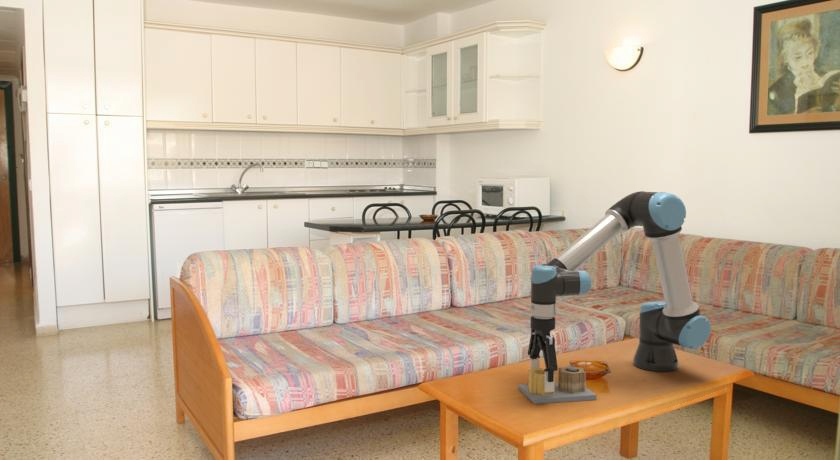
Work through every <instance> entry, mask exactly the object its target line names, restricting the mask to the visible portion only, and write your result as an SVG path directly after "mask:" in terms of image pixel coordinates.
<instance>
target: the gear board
mask: <svg viewBox="0 0 840 460" xmlns="http://www.w3.org/2000/svg"><path fill="white" fill-rule="evenodd" d="M566 367H567V370H568V371H577V367H578V366H577V367H576V366H572V367H568V366H566ZM518 390H519V391H520V392H521V393H522V394H523V395H524V396H525V397H526V398H527V399H528V400H529V401H530V402H531V403H532V404H533V405H538V404H555V403H565V402H566V403H567V402H568V403H569V402H581V401H582V402H584V401H596V400H597V394H596V393H595V392H593V391H592V390H590V389H589V388H588V387H586V389H585V391H581V392H576V393H572V392H568V391H561V390H560V387H558V381H555V393H554V394H553V393H550V394H545V395H541V394H536V393H530V392H529V389H528V383H522V384H521V383H519V384H518Z"/></svg>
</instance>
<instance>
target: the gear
mask: <svg viewBox="0 0 840 460" xmlns="http://www.w3.org/2000/svg"><path fill="white" fill-rule="evenodd" d="M567 367H573V366H572V365H568V366H563V367H562V366H561V367H558V381H557V382H558V387H560V390H561V391H568V392H572V393H576V392H581V391H585V389H586V388H587V385H586V381H587V380H586V379H587V371H585V368H583V367H578V366H577V371H568V370H567Z"/></svg>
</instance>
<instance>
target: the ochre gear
mask: <svg viewBox="0 0 840 460" xmlns="http://www.w3.org/2000/svg"><path fill="white" fill-rule="evenodd" d="M545 369H546V368H544V367H539V368H537V369H530V368H529V369H528V378H527V379H528V382H527V384H528V389H529V392H530V393H536V394H541V395H545V394H550V393H553V394H554V393H555V382H556V373H555V372H554V392H544V386H545V371H544V370H545Z"/></svg>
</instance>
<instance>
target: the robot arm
mask: <svg viewBox="0 0 840 460" xmlns="http://www.w3.org/2000/svg"><path fill="white" fill-rule="evenodd" d="M686 218H687V210H686V206H685V203H684V202H683V200H682V199H681V198H680V197H679V196H677V195H676V194H674V193H669V192H665V191H660V192H657V191H643V190H641V191H635V192H632V193H629V194H628V195H626V196H625V197H623V198H621V199H620V200H617V202H616V203H614V204H613V205H611V206H610V207H609V208H608V209H607V210H606V211H605V212H604V216H603V217H602V218H600V219H599V220H598V221H597V222H596V223H595V224H594V225H593V226H591V227H590V228H588V229H587V231H585V232H584V233H582V234H581V235H580V236H579V237H578V238H577V239H575V240H574V241H573V242H572V243H570V245H569V246H567V247H566V248H565V249H564V250H562V251H561V252H560V253H558V255H556V256H555V257H554V258H552V260H550V261H549V262H548V263H539V264H537V265H535V266H534V267H533V268H532V270H531V275H530V306H529V310H530V314H531V317H530V328H531V329H530V336H529V337H530V339H529V344H528V350H527V354H528V355H529V358H530V368H529V369H537V368H540V359H541V355H540V353H541V352H542V356H543V361H544V364H545V365H544V366H545V368H544V369H545V370H544V371H545V386H544V392H554V373H555V372H557V371H559V367H558V360H557V352H556V346H555V344H556V338H555V337H554V336H551V332H552V331H554V330H555V329H556V317H555V316H556V313H557V312H556V311H557V300H556V299H557V297H566V296H580V295H585V294H588V293H589V292H590V291H591V288H592V278H591V275H590V274H589V273H588V271H586V270H578V268H580V267H581V266H582V265H583V264H585V263H586V262H587V261H588V260H589V259H590V258H591V257H593V256H594V255H595V254H596V253H597V252H599V251H600V250H601V249H603V248H604V247H605V246H606V245H607V244H609V242H610V241H612V240H613V239H614V238H616V237H618V236H619V234H621V233H622V234H624V233H626V232H627V231H629V230H630V229H632V228H635V227H642V229H643V232H644V236H645V238H646V239H648V240H650V241H651V245H652V250H653V254H654V260H655V263H656V267H657V271H658V276H659V282H660V285H661V289H662V294H663V299H664V301H649V302H648V301H647V302H643V303H642V304H641V305H640V309H639V310H640V311H639V334H638V335H639V336H638V337H639V338H638V339H639V342H638V345H637V348H636V349H635V350H636V351H635V354H634V356H633V365H634V366H635V367H637V368H640V369H643V370H646V371H653V372H672V371H676V370H678V368H679V360H678V356H677V353H676V350H675V346H674V345H677V346H678V347H679V346H680V347H681V348H685V349H690V350H696V349H699V348H700V347H702V346H704V345H705V344H706V343H707V341H708V339H709V338H710V336H711V329H712V328H711V327H712V325H711V322H710V320H709V319H708V318H707V317H706V316H704V315H701V309H700V306H699V303H697V302H695V301H694V300H693V296H692V291H691V288H690V282H689V280H688V279H689V278H688V274H687V268H686V265H685V259H684V256H683V251H682V247H681V242H680V237H679V235H680V233H681V232H682V231H683V228H682V226H683V225H684V223H685V221H686V220H685V219H686Z"/></svg>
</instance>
